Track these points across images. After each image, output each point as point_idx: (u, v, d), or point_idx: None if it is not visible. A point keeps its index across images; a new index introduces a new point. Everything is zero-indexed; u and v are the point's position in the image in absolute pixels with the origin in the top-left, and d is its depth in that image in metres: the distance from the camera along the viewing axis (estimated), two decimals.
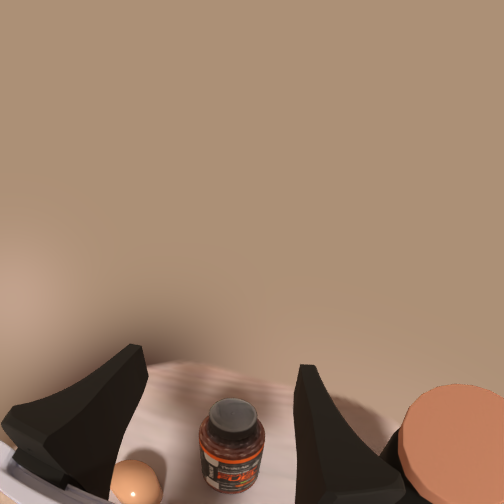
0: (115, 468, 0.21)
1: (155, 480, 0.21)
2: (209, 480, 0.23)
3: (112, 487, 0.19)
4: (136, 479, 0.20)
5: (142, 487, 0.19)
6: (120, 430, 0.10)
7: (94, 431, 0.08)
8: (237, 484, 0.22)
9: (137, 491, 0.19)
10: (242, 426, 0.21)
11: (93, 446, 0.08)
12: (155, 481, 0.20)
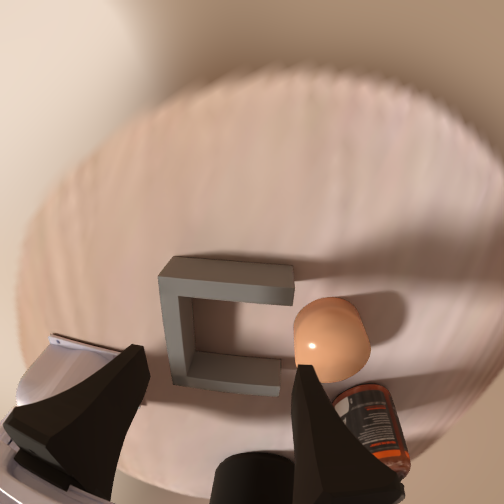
0: (350, 333, 0.17)
1: (336, 380, 0.19)
2: (343, 407, 0.22)
3: (311, 338, 0.17)
4: (335, 361, 0.18)
5: (321, 370, 0.18)
6: (122, 431, 0.10)
7: (96, 432, 0.08)
8: None
9: None
10: None
11: (95, 447, 0.08)
12: (334, 380, 0.19)
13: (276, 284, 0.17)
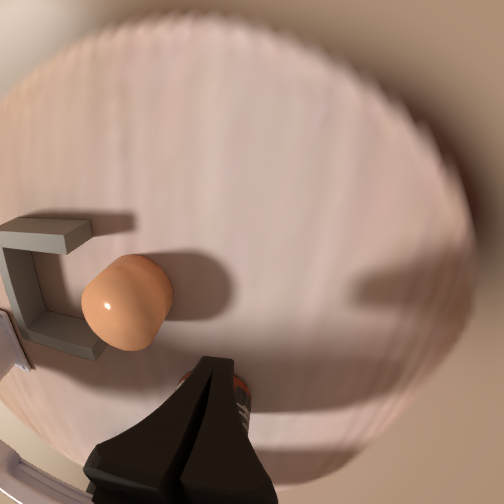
0: (120, 288, 0.15)
1: (133, 349, 0.16)
2: None
3: (87, 291, 0.15)
4: (120, 323, 0.16)
5: (112, 333, 0.16)
6: None
7: (187, 456, 0.08)
8: None
9: (103, 327, 0.16)
10: None
11: None
12: (131, 349, 0.17)
13: (53, 233, 0.15)
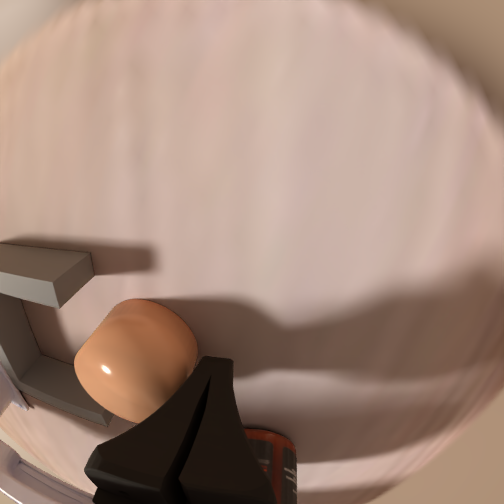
0: (127, 360, 0.10)
1: None
2: None
3: (81, 357, 0.10)
4: (129, 397, 0.11)
5: (119, 405, 0.11)
6: None
7: None
8: None
9: (106, 398, 0.11)
10: None
11: None
12: None
13: (38, 276, 0.10)
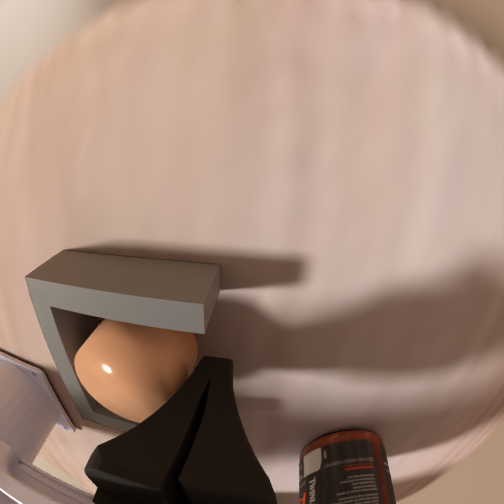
0: (127, 359, 0.10)
1: None
2: (314, 462, 0.14)
3: (81, 355, 0.10)
4: (129, 396, 0.11)
5: (119, 404, 0.11)
6: None
7: None
8: None
9: (106, 396, 0.11)
10: None
11: None
12: None
13: (173, 297, 0.10)
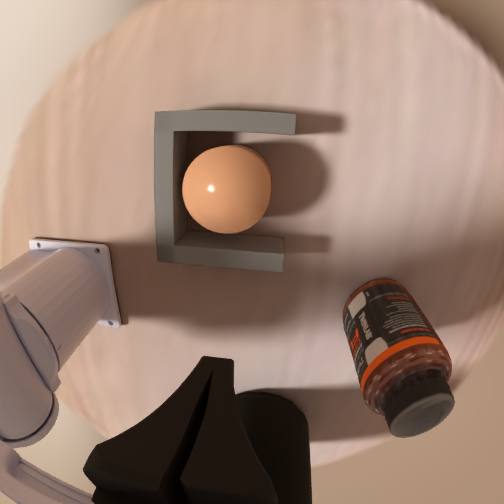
0: (239, 156, 0.16)
1: (235, 230, 0.17)
2: (359, 302, 0.20)
3: (196, 163, 0.16)
4: (228, 198, 0.17)
5: (214, 212, 0.17)
6: None
7: (187, 456, 0.08)
8: (348, 340, 0.20)
9: (204, 206, 0.17)
10: (396, 431, 0.12)
11: None
12: (233, 230, 0.17)
13: (276, 112, 0.15)
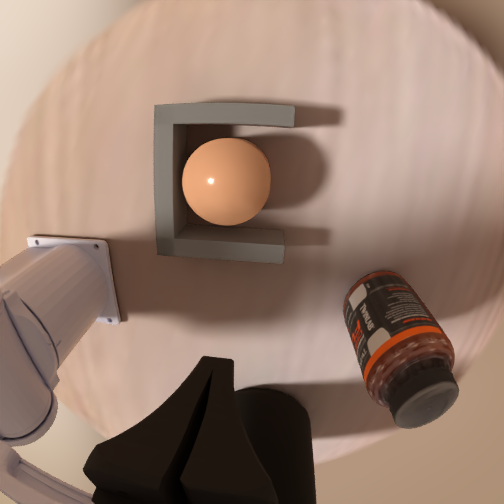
0: (238, 147, 0.16)
1: (236, 222, 0.17)
2: (360, 294, 0.20)
3: (196, 155, 0.16)
4: (228, 189, 0.17)
5: (214, 204, 0.17)
6: None
7: (187, 456, 0.08)
8: (349, 333, 0.20)
9: (204, 198, 0.17)
10: (401, 422, 0.13)
11: None
12: (234, 222, 0.17)
13: (275, 105, 0.15)
